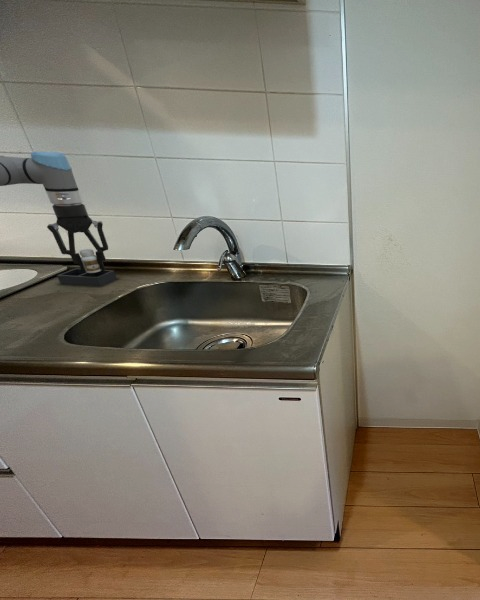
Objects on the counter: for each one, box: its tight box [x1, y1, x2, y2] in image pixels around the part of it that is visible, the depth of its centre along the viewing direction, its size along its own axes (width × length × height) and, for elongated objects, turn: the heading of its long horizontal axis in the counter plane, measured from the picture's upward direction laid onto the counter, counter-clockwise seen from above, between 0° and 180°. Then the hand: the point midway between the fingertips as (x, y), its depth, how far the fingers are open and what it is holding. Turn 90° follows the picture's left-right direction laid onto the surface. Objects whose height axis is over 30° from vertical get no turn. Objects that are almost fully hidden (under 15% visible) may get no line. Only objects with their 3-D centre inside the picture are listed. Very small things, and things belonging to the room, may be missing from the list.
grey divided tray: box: [56, 267, 118, 288], centre depth 112 cm, size 7×14×4 cm, turn 90°
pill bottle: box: [78, 248, 102, 273], centre depth 109 cm, size 4×4×8 cm
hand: (93, 270), depth 111 cm, fingers closed on pill bottle, 4 cm apart
